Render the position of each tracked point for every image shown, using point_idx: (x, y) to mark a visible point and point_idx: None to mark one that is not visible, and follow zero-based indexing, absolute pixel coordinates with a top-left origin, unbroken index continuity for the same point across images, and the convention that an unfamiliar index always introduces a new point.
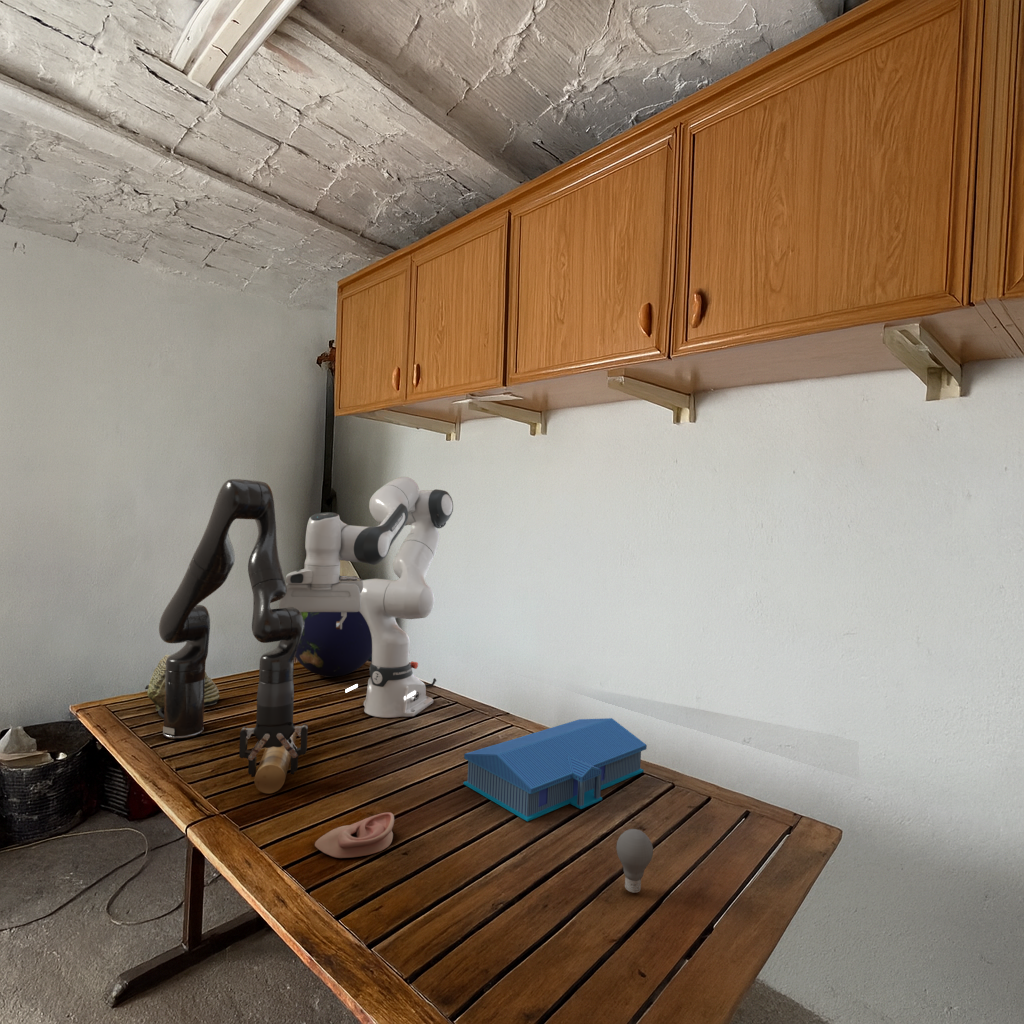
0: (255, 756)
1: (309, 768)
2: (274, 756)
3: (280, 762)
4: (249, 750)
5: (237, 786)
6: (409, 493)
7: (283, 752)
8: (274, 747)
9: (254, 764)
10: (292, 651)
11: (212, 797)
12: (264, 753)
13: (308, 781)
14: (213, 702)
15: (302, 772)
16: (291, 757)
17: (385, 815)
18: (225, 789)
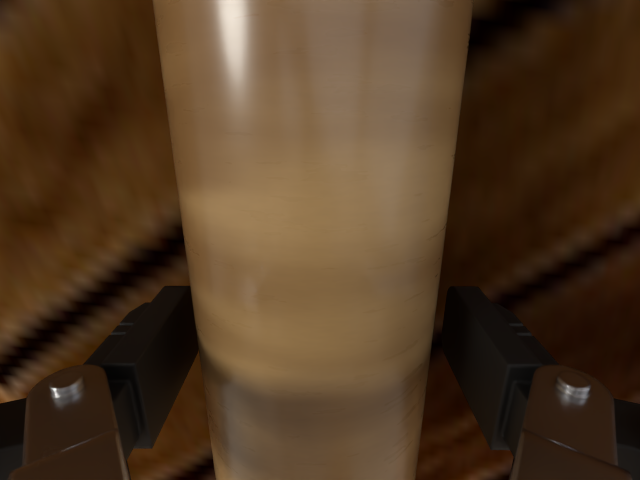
0: (124, 398)
1: (572, 40)
2: (328, 408)
3: (391, 462)
4: (3, 453)
5: (113, 274)
6: None
7: (411, 242)
8: (288, 147)
9: (161, 416)
10: None
11: (31, 379)
12: (181, 153)
13: (534, 263)
14: None
15: (511, 114)
16: (500, 427)
17: None
18: (58, 303)
